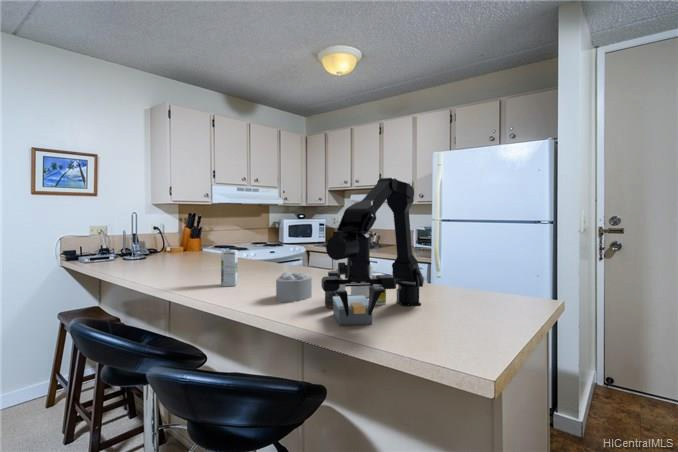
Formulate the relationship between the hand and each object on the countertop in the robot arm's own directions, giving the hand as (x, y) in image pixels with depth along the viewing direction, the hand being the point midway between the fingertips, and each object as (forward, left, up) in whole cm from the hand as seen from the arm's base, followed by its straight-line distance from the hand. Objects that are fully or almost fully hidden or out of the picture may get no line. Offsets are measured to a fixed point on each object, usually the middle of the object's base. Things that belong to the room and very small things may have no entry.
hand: (358, 315), depth 92 cm
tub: (0, -9, -4) cm, 9 cm away
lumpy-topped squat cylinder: (+16, -36, -4) cm, 40 cm away
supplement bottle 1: (+3, -23, -4) cm, 23 cm away
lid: (0, -6, +1) cm, 6 cm away
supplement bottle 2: (-12, -25, -4) cm, 28 cm away
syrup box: (+41, -63, -4) cm, 75 cm away
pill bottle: (-9, -36, -4) cm, 37 cm away
